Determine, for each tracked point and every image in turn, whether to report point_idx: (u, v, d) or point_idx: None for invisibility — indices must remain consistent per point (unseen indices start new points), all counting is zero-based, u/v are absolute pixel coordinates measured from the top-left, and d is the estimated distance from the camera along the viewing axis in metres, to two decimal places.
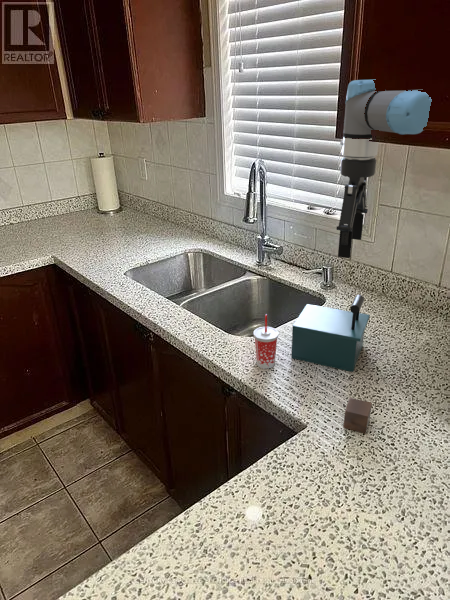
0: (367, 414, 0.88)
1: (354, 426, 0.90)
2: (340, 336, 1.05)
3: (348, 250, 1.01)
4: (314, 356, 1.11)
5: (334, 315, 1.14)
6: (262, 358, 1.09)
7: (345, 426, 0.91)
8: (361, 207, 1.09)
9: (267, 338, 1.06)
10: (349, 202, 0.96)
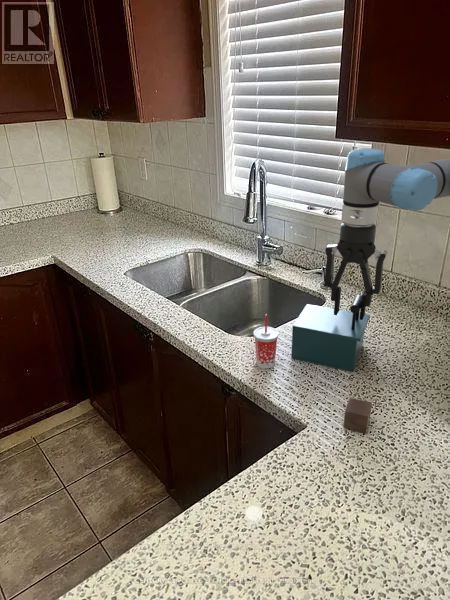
0: (367, 414, 0.88)
1: (354, 426, 0.90)
2: (340, 336, 1.05)
3: None
4: (314, 356, 1.11)
5: (334, 315, 1.14)
6: (262, 358, 1.09)
7: (345, 426, 0.91)
8: None
9: (267, 338, 1.06)
10: (382, 267, 1.01)
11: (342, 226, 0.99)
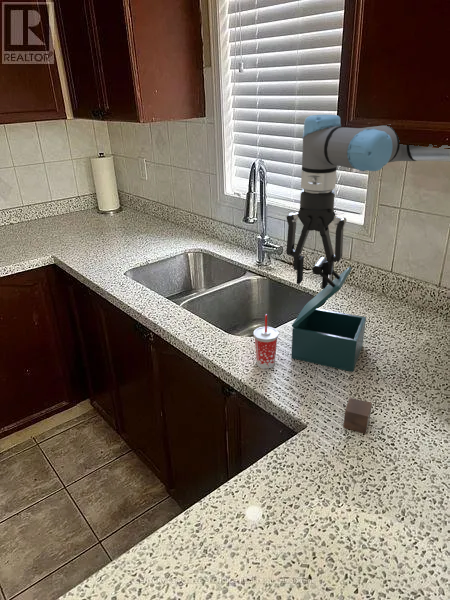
0: (367, 414, 0.88)
1: (354, 426, 0.90)
2: (325, 299, 1.03)
3: None
4: (314, 356, 1.11)
5: (323, 291, 1.12)
6: (262, 358, 1.09)
7: (345, 426, 0.91)
8: (303, 246, 1.08)
9: (267, 338, 1.06)
10: (342, 235, 1.02)
11: (301, 193, 0.99)
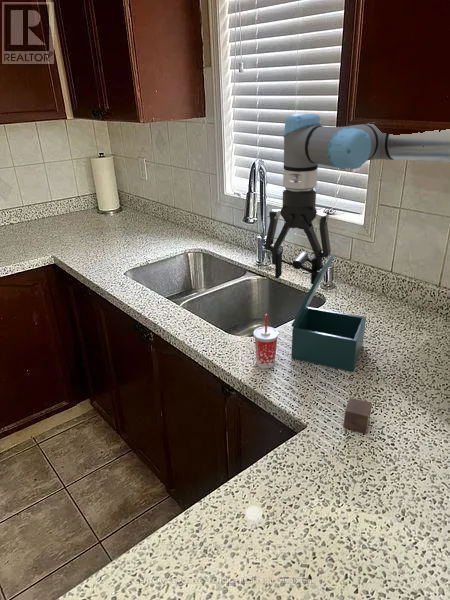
0: (367, 414, 0.88)
1: (354, 426, 0.90)
2: (312, 289, 1.04)
3: None
4: (314, 356, 1.11)
5: None
6: (262, 358, 1.09)
7: (345, 426, 0.91)
8: None
9: (267, 338, 1.06)
10: (326, 230, 1.03)
11: (283, 191, 1.01)
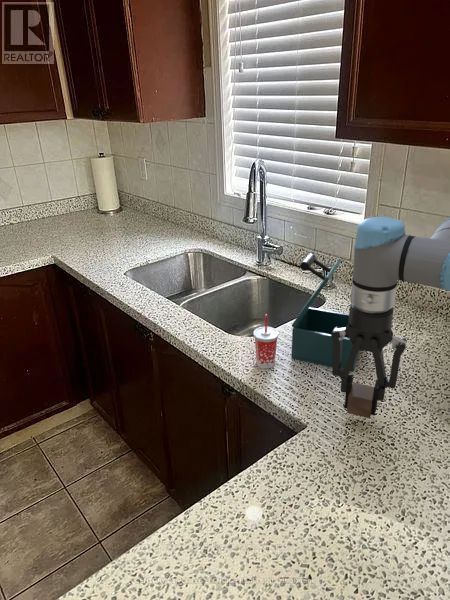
0: (371, 398, 0.86)
1: (358, 411, 0.88)
2: (317, 292, 1.03)
3: (377, 401, 0.89)
4: (314, 356, 1.11)
5: (318, 287, 1.13)
6: (262, 358, 1.09)
7: (349, 411, 0.89)
8: None
9: (267, 338, 1.06)
10: None
11: (351, 309, 0.80)
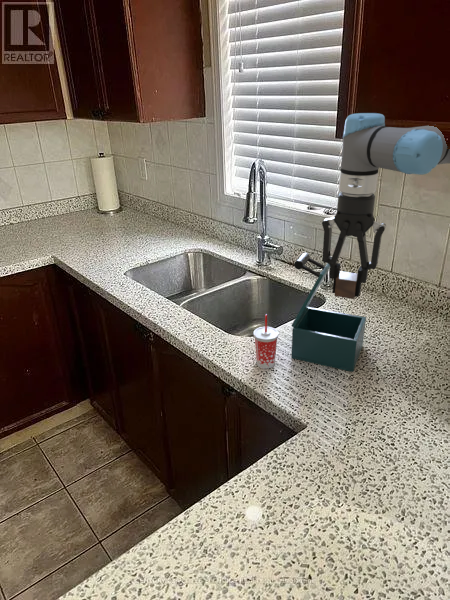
0: (355, 280, 1.00)
1: (344, 293, 1.02)
2: (313, 290, 1.03)
3: None
4: (314, 356, 1.11)
5: None
6: (262, 358, 1.09)
7: (336, 294, 1.03)
8: (339, 253, 1.02)
9: (267, 338, 1.06)
10: (380, 241, 0.96)
11: (340, 196, 0.94)
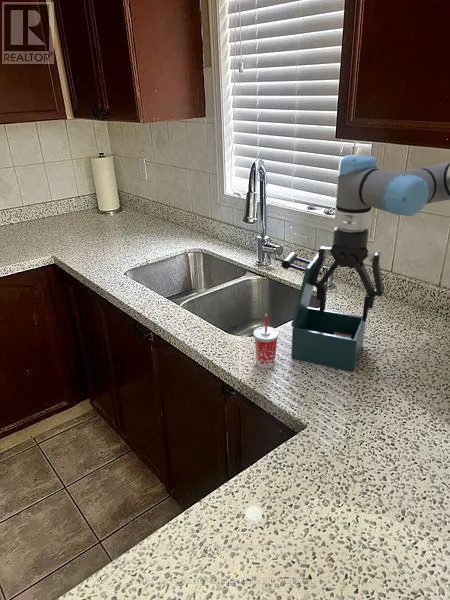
0: None
1: None
2: (303, 285, 1.04)
3: (367, 310, 1.08)
4: (314, 356, 1.11)
5: None
6: (262, 358, 1.09)
7: None
8: None
9: (267, 338, 1.06)
10: (379, 269, 1.01)
11: (335, 231, 1.00)
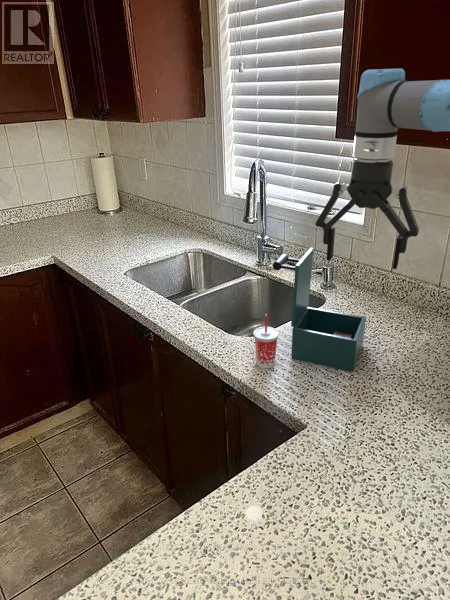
0: None
1: None
2: (295, 283, 1.05)
3: None
4: (314, 356, 1.11)
5: None
6: (262, 358, 1.09)
7: None
8: None
9: (267, 338, 1.06)
10: (408, 204, 0.86)
11: (354, 163, 0.85)
